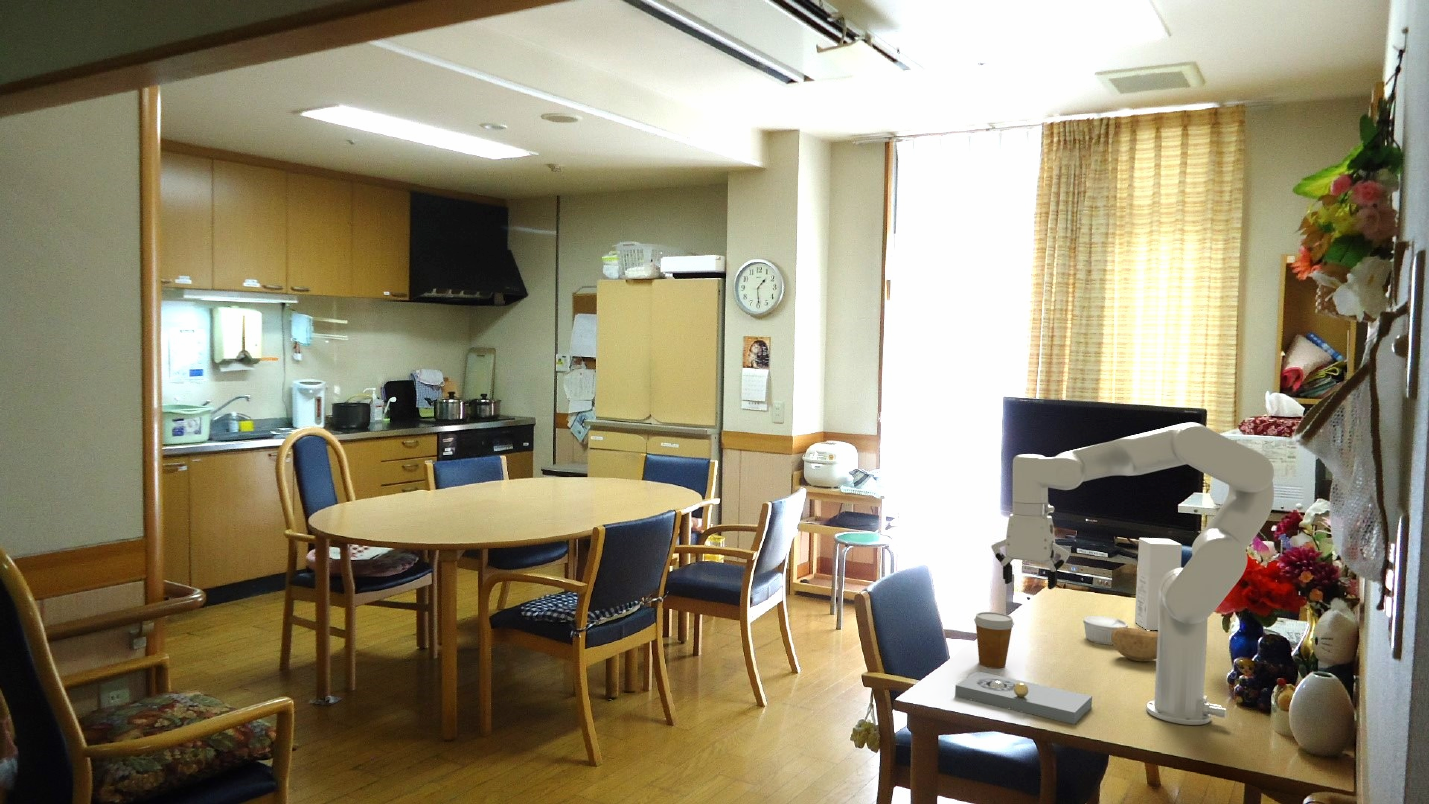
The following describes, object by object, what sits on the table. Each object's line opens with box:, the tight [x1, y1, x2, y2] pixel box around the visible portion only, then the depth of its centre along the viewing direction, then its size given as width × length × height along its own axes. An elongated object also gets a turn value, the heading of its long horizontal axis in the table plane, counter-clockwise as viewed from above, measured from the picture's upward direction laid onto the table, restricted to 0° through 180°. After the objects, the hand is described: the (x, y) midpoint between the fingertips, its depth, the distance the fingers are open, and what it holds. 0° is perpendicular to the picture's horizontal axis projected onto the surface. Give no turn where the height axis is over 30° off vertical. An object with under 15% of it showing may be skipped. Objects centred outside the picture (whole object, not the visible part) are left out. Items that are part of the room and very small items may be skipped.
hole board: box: [954, 671, 1093, 725], centre depth 219 cm, size 26×13×2 cm, turn 54°
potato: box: [1111, 626, 1158, 662], centre depth 253 cm, size 10×14×8 cm
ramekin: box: [1082, 615, 1129, 645], centre depth 270 cm, size 11×11×5 cm
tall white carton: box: [1134, 537, 1183, 630], centre depth 284 cm, size 9×9×25 cm
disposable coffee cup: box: [973, 611, 1015, 669], centre depth 245 cm, size 10×10×12 cm
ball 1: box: [990, 681, 1005, 688], centre depth 222 cm, size 4×4×4 cm
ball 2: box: [1014, 683, 1028, 697], centre depth 215 cm, size 3×3×3 cm
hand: (1029, 585), depth 223 cm, fingers open, 9 cm apart
